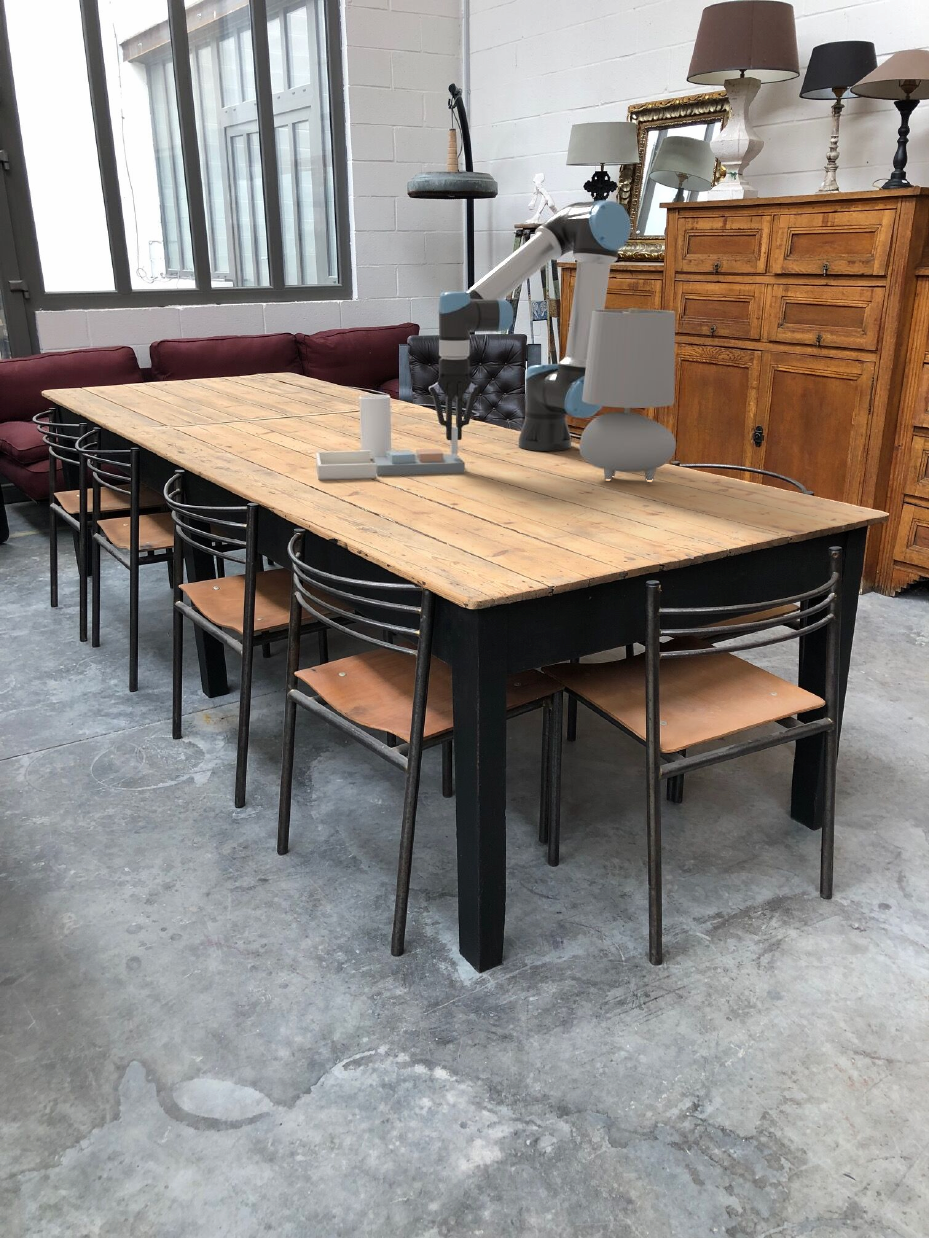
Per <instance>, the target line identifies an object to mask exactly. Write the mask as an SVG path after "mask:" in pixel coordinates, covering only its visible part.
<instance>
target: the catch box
mask: <svg viewBox="0 0 929 1238" xmlns="http://www.w3.org/2000/svg"><path fill="white" fill-rule="evenodd" d="M315 464H316V465H315V466H316V471H317V479H318V480H319V481H326V480H327V481H329V480H361V479H365V480H367V479H377V474H376V463H373V462H372V463H371V459H370V450H366V451H361V450H338V451H336V450H334V451H331V450H330V451H315Z"/></svg>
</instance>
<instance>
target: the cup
mask: <svg viewBox="0 0 929 1238" xmlns="http://www.w3.org/2000/svg"><path fill="white" fill-rule="evenodd" d="M358 402H359V421H360V422H359V423H360V424H359V427H360V430H359V431H360V451H366V450H370V460H373V456H386V451H392V421H391V416H392V414H391V413H392V412H391V411H392V410H391V396H390V395H386V394H364V395H363V394H362V395H359V401H358Z"/></svg>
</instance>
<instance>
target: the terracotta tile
mask: <svg viewBox="0 0 929 1238" xmlns="http://www.w3.org/2000/svg"><path fill="white" fill-rule="evenodd" d="M443 454H444V452H442V450H441V449H440V448H432V449H431V448H430V449H429V448H426V449H416V455H417V459H418V460H419V462H434V461H443Z"/></svg>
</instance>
